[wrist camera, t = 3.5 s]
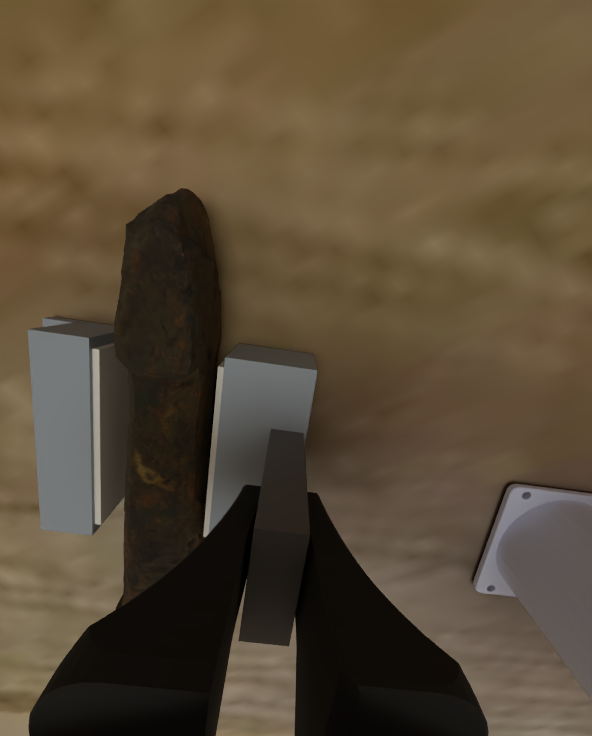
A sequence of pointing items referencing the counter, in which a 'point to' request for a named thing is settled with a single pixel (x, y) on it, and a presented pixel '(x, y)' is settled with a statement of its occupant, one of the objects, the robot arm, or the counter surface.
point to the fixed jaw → (78, 423)
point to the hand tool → (166, 383)
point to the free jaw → (265, 476)
